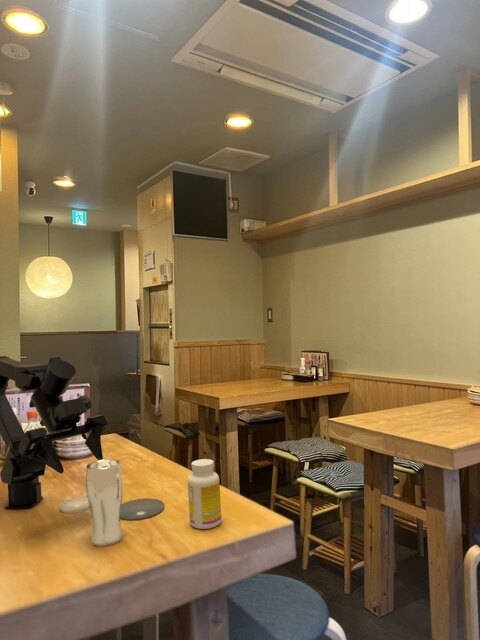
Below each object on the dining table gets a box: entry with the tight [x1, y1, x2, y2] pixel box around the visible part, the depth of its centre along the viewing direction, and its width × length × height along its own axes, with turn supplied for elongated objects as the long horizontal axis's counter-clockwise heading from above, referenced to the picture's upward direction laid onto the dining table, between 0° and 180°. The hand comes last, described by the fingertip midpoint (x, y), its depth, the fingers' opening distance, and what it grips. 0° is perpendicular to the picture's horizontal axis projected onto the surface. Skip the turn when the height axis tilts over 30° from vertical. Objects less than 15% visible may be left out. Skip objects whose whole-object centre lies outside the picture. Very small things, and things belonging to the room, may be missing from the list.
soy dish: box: [59, 496, 90, 514], centre depth 112 cm, size 7×7×1 cm
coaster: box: [120, 497, 165, 521], centre depth 108 cm, size 11×11×1 cm
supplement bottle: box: [187, 458, 222, 530], centre depth 99 cm, size 7×7×13 cm
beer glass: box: [85, 458, 124, 547], centre depth 94 cm, size 7×7×15 cm
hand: (82, 466), depth 99 cm, fingers open, 9 cm apart
